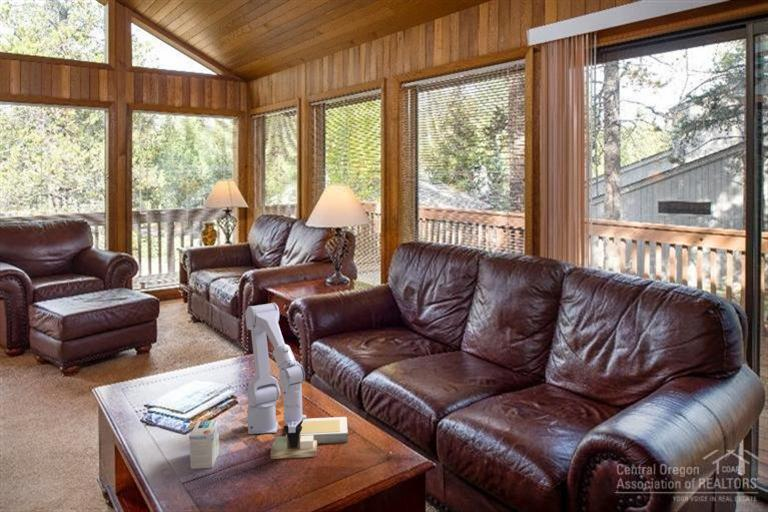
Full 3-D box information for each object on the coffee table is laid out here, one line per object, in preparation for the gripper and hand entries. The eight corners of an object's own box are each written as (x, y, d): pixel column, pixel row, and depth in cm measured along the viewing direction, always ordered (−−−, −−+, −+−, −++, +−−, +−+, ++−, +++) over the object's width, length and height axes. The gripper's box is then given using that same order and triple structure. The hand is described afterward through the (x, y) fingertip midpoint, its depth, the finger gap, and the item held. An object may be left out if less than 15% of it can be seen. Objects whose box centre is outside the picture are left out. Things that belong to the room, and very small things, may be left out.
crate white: (300, 449, 180) (300, 441, 180) (301, 443, 184) (300, 435, 184) (313, 448, 180) (312, 441, 180) (313, 442, 184) (313, 435, 184)
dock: (286, 445, 187) (285, 437, 186) (289, 426, 201) (289, 419, 200) (347, 442, 189) (347, 434, 188) (346, 423, 202) (346, 416, 202)
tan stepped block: (270, 458, 178) (270, 440, 177) (273, 448, 185) (272, 430, 184) (316, 456, 179) (315, 438, 178) (317, 446, 186) (316, 428, 185)
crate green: (274, 450, 179) (274, 442, 179) (275, 444, 183) (275, 437, 183) (287, 449, 180) (287, 442, 179) (288, 443, 184) (288, 436, 183)
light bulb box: (198, 452, 183) (196, 419, 181) (220, 451, 183) (218, 419, 182) (190, 469, 172) (188, 435, 171) (213, 468, 173) (211, 434, 171)
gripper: (304, 412, 173) (306, 454, 175) (306, 393, 187) (307, 433, 189) (280, 413, 172) (282, 456, 174) (284, 394, 187) (286, 434, 189)
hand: (294, 444), depth 182 cm, fingers closed on tan stepped block, 3 cm apart
